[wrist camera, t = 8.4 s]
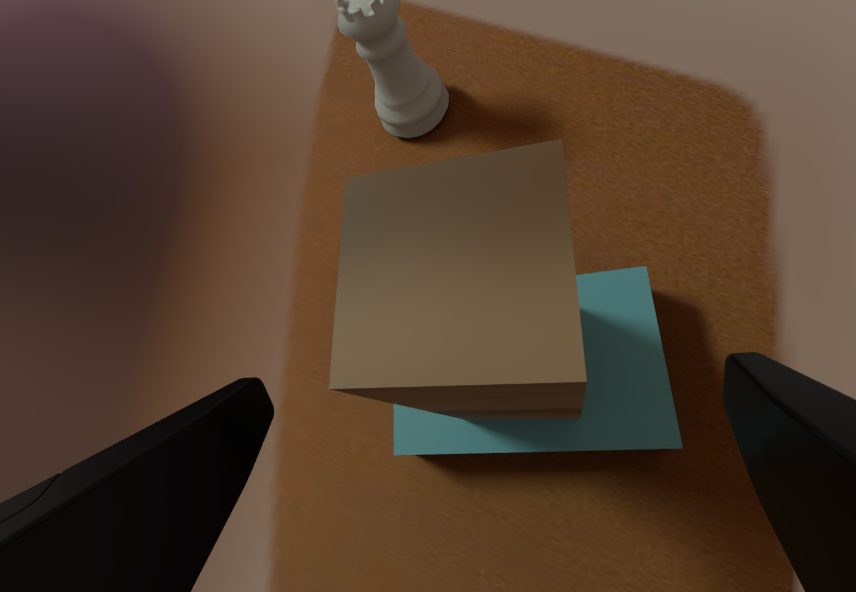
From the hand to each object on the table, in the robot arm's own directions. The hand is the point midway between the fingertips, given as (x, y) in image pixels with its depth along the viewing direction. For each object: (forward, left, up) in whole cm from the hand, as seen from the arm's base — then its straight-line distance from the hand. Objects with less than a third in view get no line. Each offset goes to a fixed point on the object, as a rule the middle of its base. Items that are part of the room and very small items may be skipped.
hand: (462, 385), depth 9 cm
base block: (+2, 0, -13) cm, 13 cm away
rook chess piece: (+19, +5, -13) cm, 23 cm away
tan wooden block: (+2, 0, -10) cm, 10 cm away
